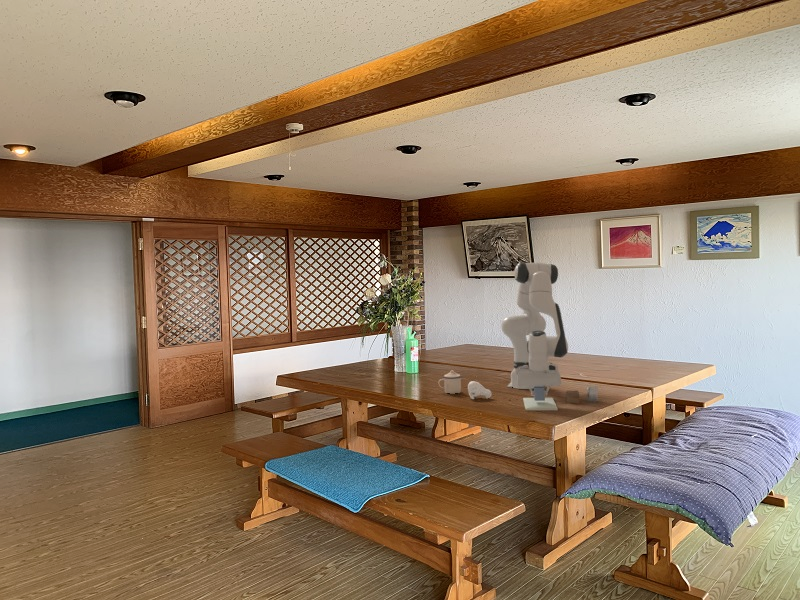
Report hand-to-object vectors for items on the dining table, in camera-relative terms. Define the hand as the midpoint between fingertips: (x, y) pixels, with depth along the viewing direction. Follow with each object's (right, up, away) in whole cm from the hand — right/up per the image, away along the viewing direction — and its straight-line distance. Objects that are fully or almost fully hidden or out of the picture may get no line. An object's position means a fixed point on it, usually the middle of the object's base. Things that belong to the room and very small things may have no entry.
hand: (539, 395), depth 279 cm
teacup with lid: (-39, -5, +36) cm, 53 cm away
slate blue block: (0, -2, 0) cm, 2 cm away
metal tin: (+26, -4, +3) cm, 26 cm away
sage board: (0, -5, 0) cm, 5 cm away
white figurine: (-25, -5, +19) cm, 32 cm away
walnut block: (+17, -4, +4) cm, 18 cm away
